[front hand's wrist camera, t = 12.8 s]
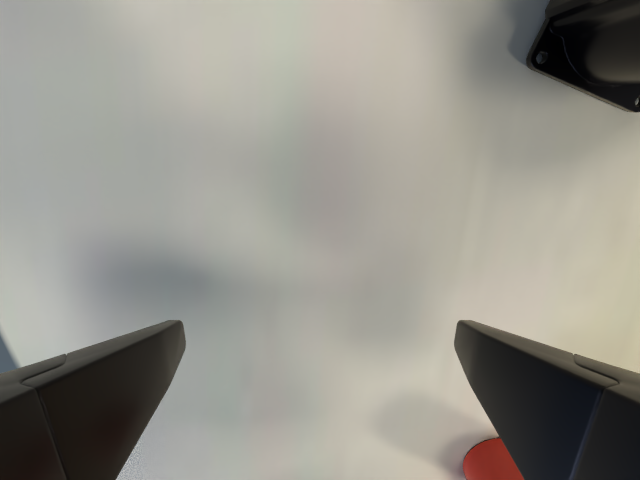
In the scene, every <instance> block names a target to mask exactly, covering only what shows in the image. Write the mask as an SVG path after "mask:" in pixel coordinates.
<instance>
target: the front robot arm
mask: <svg viewBox="0 0 640 480" xmlns="http://www.w3.org/2000/svg"><path fill="white" fill-rule="evenodd" d="M545 14H546V20H545V22H544V24H543V26H542V28H541V29H540V31H539V33H538V35H537V37H536V39H535V41H534V43H533V45H532V47H531V49H530V51H529V53H528V55H527V59H526V64H527V66H528V67H529V68H530V69H531V70H534V71H536V72H538V73H540V74H543V75H545V76H547V77H549V78H552V79H554V80H556V81H559V82H561V83H563V84H565V85H568V86H570V87H572V88H575V89H577V90H579V91H581V92H584V93H586V94H588V95H591V96H593V97H595V98H597V99H600V100H602V101H604V102H606V103H609V104H611V105H613V106H616V107H618V108H620V109H622V110H625V111H627V112H640V0H550V2H549V4H548V6H547V8H546V10H545ZM538 53H541V54H542V61H541V62H540V63H538V62H537V60H536V57H537V55H538ZM637 98H639V102H638V104H637V105H635V100H636V99H637ZM185 347H186V340H185V334H184V327H183V323H182V321H180V320H168V321H165V322H162V323H159V324H156V325H153V326H150V327H147V328H144V329H141V330H138V331H135V332H132V333H129V334H125V335H122V336H119V337H116V338H113V339H110V340H107V341H104V342H101V343H98V344H95V345H92V346H89V347H86V348H83V349H80V350H76V351H73V352H70V353H68V354H67V355H66V354H63V355H60V356H57V357H54V358H50V359H47V360H44V361H41V362H38V363H34V364H31V365H28V366H25V367H21V368H18V369H15V370H11V371H8V372H4V373H1V374H0V480H116V478H117V476H118V475H119V473H120V471H121V469H122V468H123V466H124V464H125V463H126V461H127V459H128V457H129V456H130V454H131V452H132V450H133V449H134V447H135V445H136V443H137V442H138V440H139V438H140V436H141V435H142V433H143V431H144V429H145V428H146V426H147V424H148V422H149V421H150V419H151V417H152V416H153V414H154V412H155V410H156V409H157V407H158V405H159V403H160V402H161V400H162V398H163V396H164V395H165V393H166V391H167V389H168V388H169V386H170V384H171V382H172V379H173V377H174V375H175V372H176V370H177V367H178V365H179V363H180V360H181V358H182V355H183V353H184V351H185ZM454 347H455V351H456V353H457V355H458V358H459V360H460V363H461V365H462V367H463V370H464V372H465V375H466V377H467V379H468V382H469V384H470V386H471V388H472V389H473V391H474V393H475V395H476V396H477V398H478V400H479V402H480V403H481V405H482V407H483V409H484V410H485V412H486V414H487V416H488V417H489V419H490V421H491V422H492V424H493V426H494V428H495V429H496V431H497V433H498V435H499V436H500V438H501V440H502V442H503V443H504V445H505V447H506V449H507V450H508V452H509V454H510V456H511V457H512V459H513V461H514V463H515V464H516V466H517V468H518V469H519V471H520V473H521V475H522V476H523V478H524V480H640V374H639V373H636V372H632V371H629V370H625V369H622V368H619V367H615V366H612V365H609V364H606V363H602V362H599V361H596V360H593V359H590V358H586V357H583V356H580V355H577V354H574V355H573V354H572V353H570V352H567V351H564V350H560V349H557V348H554V347H551V346H548V345H545V344H542V343H539V342H536V341H533V340H530V339H527V338H524V337H521V336H518V335H515V334H511V333H508V332H505V331H502V330H499V329H496V328H493V327H490V326H487V325H484V324H481V323H478V322H475V321H472V320H460V321H458V323H457V327H456V334H455V340H454Z"/></svg>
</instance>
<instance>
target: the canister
mask: <svg viewBox="0 0 640 480" xmlns="http://www.w3.org/2000/svg"><path fill="white" fill-rule="evenodd" d="M463 471H464V474H465V476H466V479H467V480H524V478H523V476H522V475H521V473H520V471H519V469H518V468H517V466H516V464H515V463H514V461H513V459H512V457H511V456H510V454H509V452H508V450H507V449H506V447H505V445H504V443H503V442H502V440H501V438H496V439H490V440H487V441H484V442H482V443H480V444H478V445H476V446H475V447H474V448H472V449H471V450H470V451H469V452H468V454H467V455H466V457H465V459H464V462H463Z"/></svg>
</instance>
